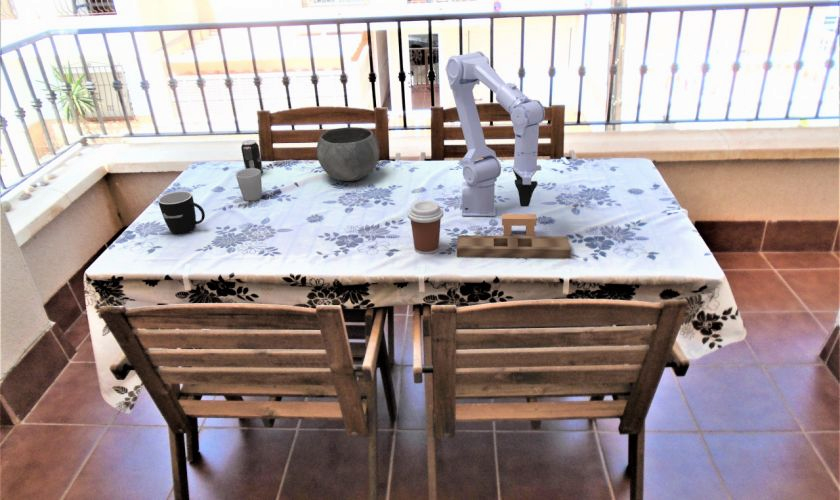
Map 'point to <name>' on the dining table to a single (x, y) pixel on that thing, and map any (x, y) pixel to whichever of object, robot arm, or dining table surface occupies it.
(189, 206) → the mug
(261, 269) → the dining table surface
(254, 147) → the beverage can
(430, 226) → the coffee cup
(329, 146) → the bowl
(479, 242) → the rail
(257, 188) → the cup
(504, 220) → the clip
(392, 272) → the dining table surface
